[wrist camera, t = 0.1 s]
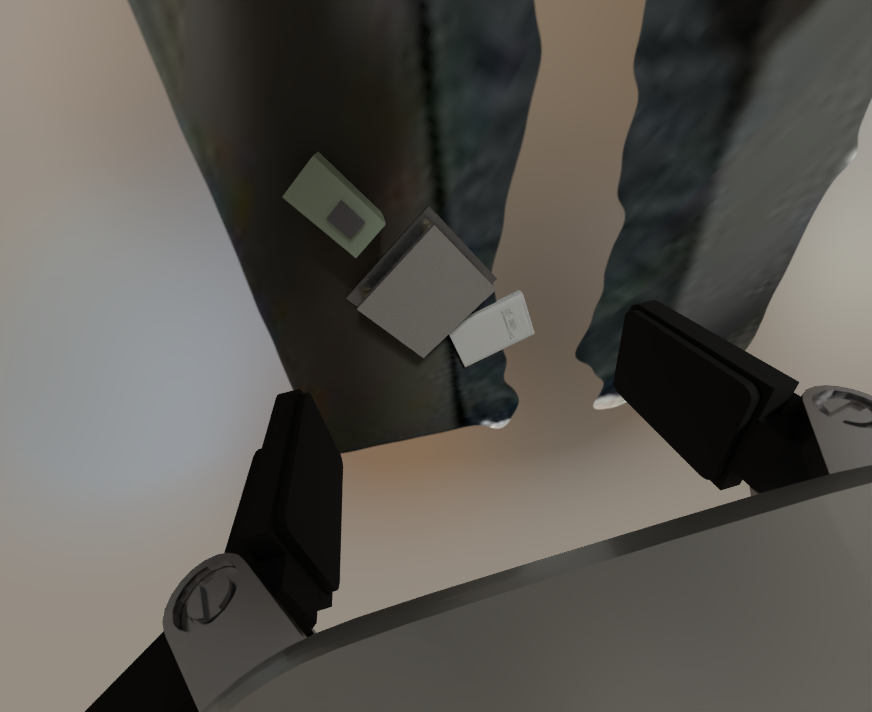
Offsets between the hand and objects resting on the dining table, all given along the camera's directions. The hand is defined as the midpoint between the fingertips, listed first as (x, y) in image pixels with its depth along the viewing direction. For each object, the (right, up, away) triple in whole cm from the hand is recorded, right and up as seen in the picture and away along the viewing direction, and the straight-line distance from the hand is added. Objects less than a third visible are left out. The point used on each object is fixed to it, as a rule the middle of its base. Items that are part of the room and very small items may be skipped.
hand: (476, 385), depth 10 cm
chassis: (-3, +10, +38) cm, 39 cm away
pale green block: (-13, +19, +30) cm, 38 cm away
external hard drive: (+7, +5, +45) cm, 46 cm away
